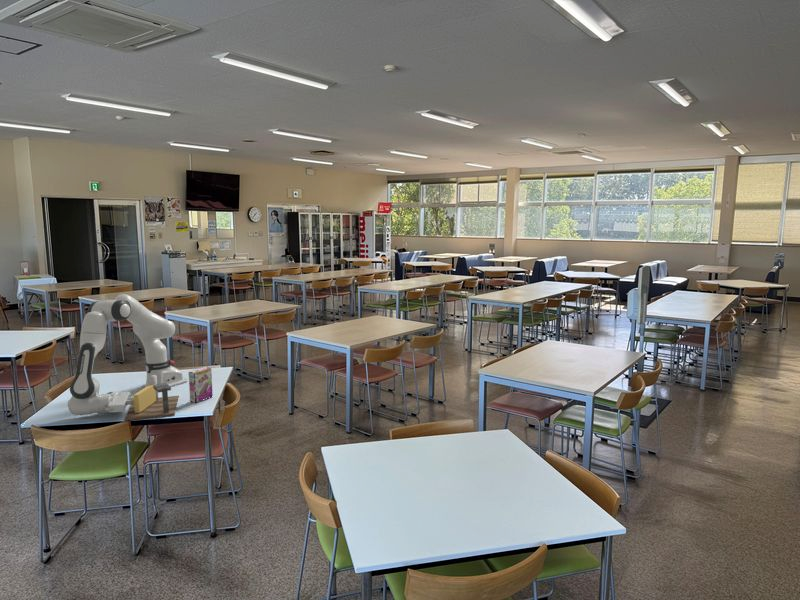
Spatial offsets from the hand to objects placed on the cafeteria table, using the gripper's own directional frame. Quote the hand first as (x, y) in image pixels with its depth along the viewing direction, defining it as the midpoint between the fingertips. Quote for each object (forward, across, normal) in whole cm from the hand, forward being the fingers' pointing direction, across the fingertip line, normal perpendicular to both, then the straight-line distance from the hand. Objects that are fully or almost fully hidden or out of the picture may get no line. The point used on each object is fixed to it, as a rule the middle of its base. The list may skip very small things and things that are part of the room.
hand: (138, 400), depth 266 cm
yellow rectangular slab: (+4, +3, +4) cm, 7 cm away
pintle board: (+6, +2, +6) cm, 9 cm away
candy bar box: (+29, +8, +6) cm, 31 cm away
